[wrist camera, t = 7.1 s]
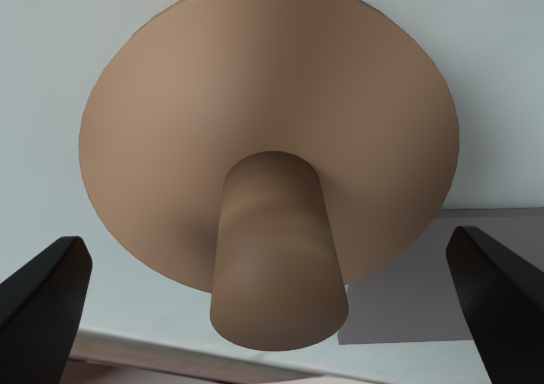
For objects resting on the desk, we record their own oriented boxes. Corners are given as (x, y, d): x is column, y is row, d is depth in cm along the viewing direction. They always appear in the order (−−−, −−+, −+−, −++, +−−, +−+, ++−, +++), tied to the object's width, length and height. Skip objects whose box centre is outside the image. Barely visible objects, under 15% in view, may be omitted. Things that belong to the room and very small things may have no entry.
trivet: (593, 206, 19) (601, 214, 19) (501, 330, 27) (506, 338, 26) (364, 212, 19) (367, 220, 18) (337, 336, 26) (339, 344, 26)
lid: (501, -26, 8) (727, 46, 4) (401, 272, 15) (454, 408, 11) (26, -17, 8) (-194, 68, 4) (140, 282, 14) (98, 425, 11)
